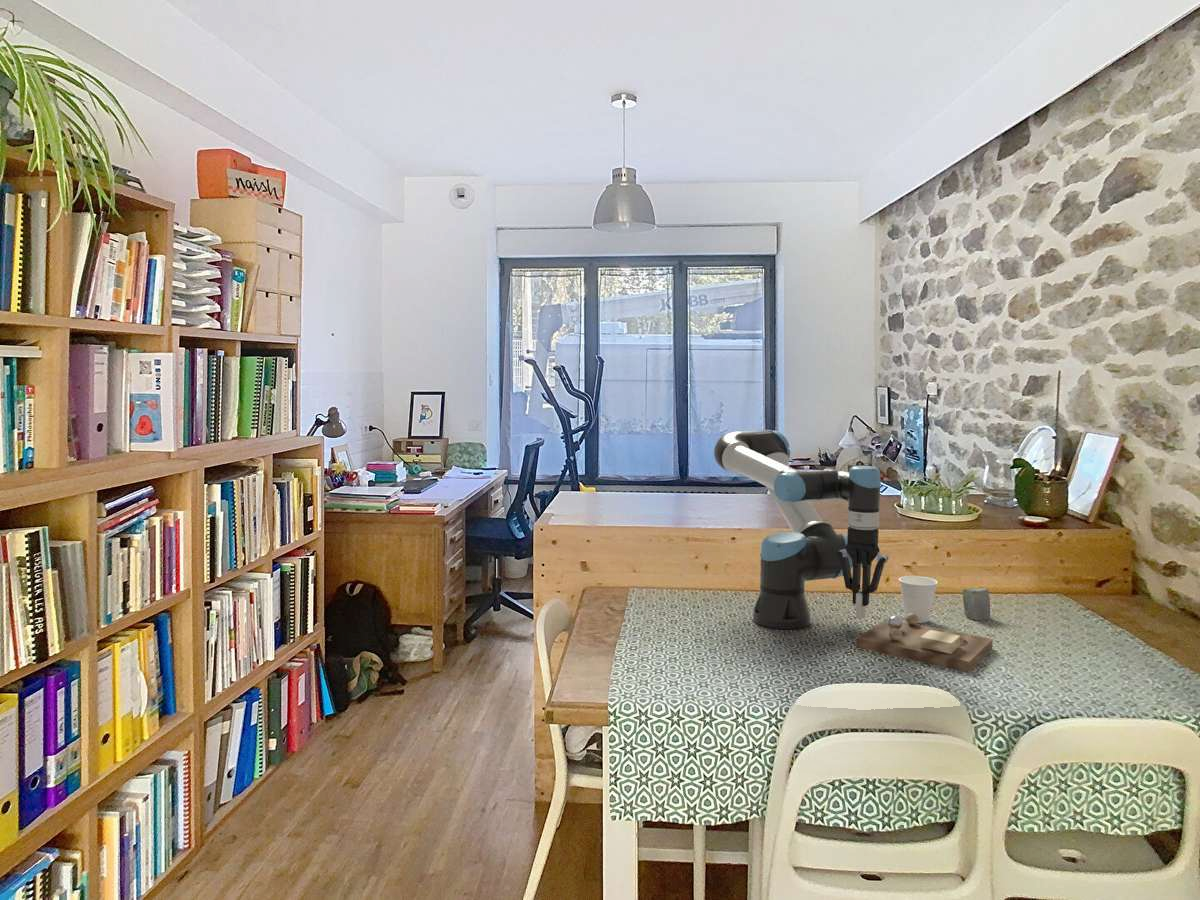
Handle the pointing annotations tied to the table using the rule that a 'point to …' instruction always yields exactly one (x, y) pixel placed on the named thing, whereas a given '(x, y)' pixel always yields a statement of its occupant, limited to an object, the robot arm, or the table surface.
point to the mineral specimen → (976, 603)
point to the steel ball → (894, 622)
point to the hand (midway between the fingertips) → (860, 617)
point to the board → (909, 648)
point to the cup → (918, 596)
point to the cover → (940, 641)
